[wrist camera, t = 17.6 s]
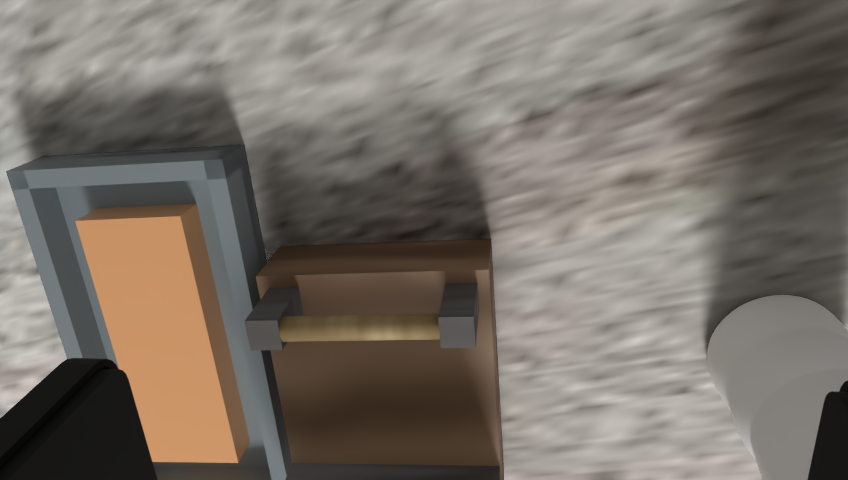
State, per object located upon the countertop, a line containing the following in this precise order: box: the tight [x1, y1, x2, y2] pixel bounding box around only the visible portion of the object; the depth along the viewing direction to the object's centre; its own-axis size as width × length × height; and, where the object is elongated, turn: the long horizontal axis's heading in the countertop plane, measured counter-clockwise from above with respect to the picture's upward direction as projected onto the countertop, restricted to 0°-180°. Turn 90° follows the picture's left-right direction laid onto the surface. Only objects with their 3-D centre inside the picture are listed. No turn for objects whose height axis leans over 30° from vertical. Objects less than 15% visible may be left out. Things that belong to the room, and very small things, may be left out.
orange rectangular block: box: [75, 204, 250, 463], centre depth 39 cm, size 16×6×2 cm, turn 5°
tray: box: [6, 145, 292, 480], centre depth 40 cm, size 22×12×3 cm, turn 5°
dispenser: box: [245, 239, 504, 480], centre depth 34 cm, size 16×12×14 cm
